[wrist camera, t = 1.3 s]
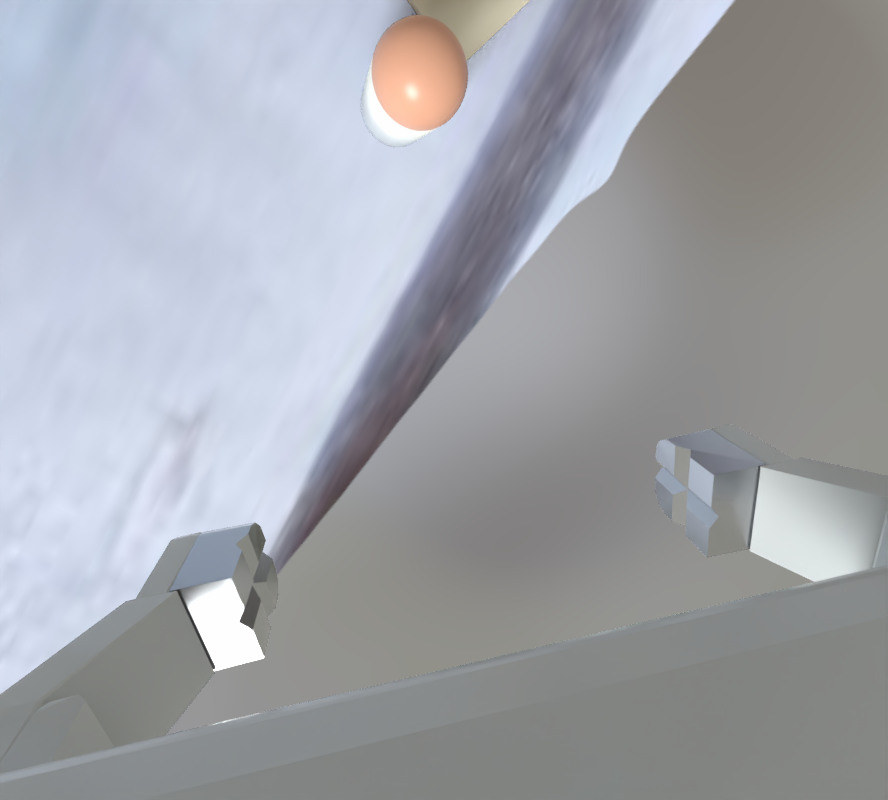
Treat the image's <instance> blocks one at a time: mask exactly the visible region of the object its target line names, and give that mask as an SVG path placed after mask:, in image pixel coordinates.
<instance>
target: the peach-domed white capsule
mask: <svg viewBox="0 0 888 800" xmlns="http://www.w3.org/2000/svg"><path fill="white" fill-rule="evenodd" d="M467 82H468V68H467V61H466V57H465V54H464V51H463V48H462V46H461V44H460V42H459V40H458V39H457V37H456V36H455V34H454V33H453V32H452V31H451V30H450V29H449V28H448V27H447V26H446V25H445V24H443V23H442V22H440V21H439V20H437V19H434V18H432V17H429V16H424V15H412V16H408V17H405V18H402V19H400V20H398V21H397V22H395V23H393V24H392V25H391V26H390V27H389V28H388V29H387V30H386V31H385V32H384V33H383V35H382V37H381V38H380V40H379V42H378V44H377V46H376V48H375V51H374V54H373V58H372V61H371V64H370V68H369V71H368V74H367V78H366V81H365V85H364V88H363V91H362V95H361V114H362V117H363V121H364V123H365V125H366V127H367V129H368V130H369V132H370V133H371V134H372V136H373V137H374V138H376V139H377V140H378V141H379V142H381V143H383V144H385V145H387V146H390V147H405V146H408V145H410V144H412V143H414V142H416V141H417V140H419V139H420V138H422V137H424V136H425V135H427V134H429V133H430V132H432V131H434V130H435V129H437V128H438V127H440V126H442V125H443V124H445V123H446V122H447V121H449V120H450V119H451V118H452V117H453V115H454V114H455V113H456V112H457V110H458V109H459V107H460V105H461V103H462V101H463V99H464V96H465V92H466V88H467Z"/></svg>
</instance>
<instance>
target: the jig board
mask: <svg viewBox="0 0 888 800" xmlns="http://www.w3.org/2000/svg"><path fill="white" fill-rule="evenodd" d="M529 1H530V0H408V2H409V3H410V5H411V6H412V8H413V9H414V11H415V12H416V14H417V15H424V16H429V17H432V18H434V19H437V20H439V21H440V22H442V23H443V24H445V25H446V26H447V27H448V28H449V29H450V30H451V31H452V32H453V33H454V34H455V36H456V37H457V39H458V40H459V42H460V44H461V46H462V48H463V51H464V54H465V57H466V61H467V60H468V59H469V58H470V57H471V56H472V55H473V54H474V53H476V52H477V51H478V50H479V49H480V48H481V47H482V46H483V45H484V44H485V43H486V42H487V41H488V40H489V39H490V38H491V37H492V36H493V35H494V34H495V33H496V32H497V31H499V30H500V29H501V28H502V27H503V26H504V25H505V24H506V23H507V22H508V21H509V20H510V19H511V18H512V17H513V16H514V15H515V14H516V13H517V12H518V11H519V10H520V9H521V8H523V7H524V6H525V5H526V4H527V3H528V2H529Z"/></svg>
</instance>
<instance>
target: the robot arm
mask: <svg viewBox="0 0 888 800" xmlns="http://www.w3.org/2000/svg"><path fill="white" fill-rule="evenodd" d="M656 460H657V461H658V462H659V464H660V465H661V466H662V469H661V470H660V471H659V473H658V474H657V476H656V477H655V492H656V496H657V499H658V502H659V505H660V507H661V509H662V510H663V512H664V514H665V515H666V516H667V517H668V518H669V519H670V520H671V521H672V522H675V523H678V524H680V525H683V526H685V527H686V531H685V535H686V537H687V538H688V539H689V540H690V541H692V543H693V544H694V545H695V546H696V547H697V548H698V549H699V550H700V551H701V552H702V553H703V554H704V555H705V556H706V557H712V556H717V555H722V554H727V553H732V552H737V551H742V550H747V549H750V551H751V552H753V553H755V554H757V555H759V556H761V557H764V558H765V559H768V560H770V561H772V562H774V563H776V564H778V565H780V566H782V567H785V568H787V569H789V570H791V571H793V572H795V573H797V574H799V575H801V576H804V577H806V578H808V579H810V580H812V581H814V582H812V583H808V584H803V585H800V586H795V587H791V588H787V589H782V590H778V591H774V592H770V593H765V594H761V595H757V596H752V597H749V598H744V599H740V600H736V601H732V602H727V603H723V604H718V605H714V606H710V607H706V608H701V609H697V610H693V611H689V612H684V613H680V614H676V615H672V616H667V617H664V618H659V619H655V620H650V621H646V622H642V623H638V624H633V625H629V626H625V627H621V628H617V629H612V630H608V631H604V632H600V633H595V634H591V635H587V636H583V637H579V638H575V639H570V640H566V641H562V642H558V643H553V644H549V645H545V646H541V647H536V648H532V649H528V650H524V651H520V652H515V653H512V654H507V655H503V656H499V657H494V658H490V659H486V660H482V661H477V662H473V663H469V664H465V665H460V666H457V667H452V668H448V669H444V670H440V671H435V672H431V673H427V674H422V675H418V676H414V677H410V678H405V679H401V680H397V681H393V682H388V683H384V684H380V685H376V686H371V687H367V688H363V689H359V690H354V691H350V692H346V693H342V694H338V695H333V696H329V697H325V698H321V699H316V700H312V701H308V702H303V703H299V704H295V705H291V706H287V707H282V708H278V709H274V710H270V711H265V712H261V713H257V714H253V715H249V716H244V717H240V718H236V719H232V720H227V721H223V722H219V723H214V724H210V725H206V726H202V727H197V728H193V729H190V730H185V731H180V732H176V733H172V734H168V735H166V734H167V733H168V731H169V730H170V729H171V728H172V727H173V725H174V724H175V723H176V721H177V720H178V719H179V718H180V717H181V715H182V714H183V713H184V712H185V710H186V709H187V708H188V706H189V705H190V704H191V703H192V701H193V700H194V699H195V698H196V696H197V695H198V694H199V693H200V691H201V690H202V689H203V688H204V686H205V685H206V684H207V683H208V681H209V680H210V679H211V678H212V676H213V675H214V674H215V672H214V671H215V670H219V669H223V668H227V667H230V666H234V665H238V664H242V663H246V662H250V661H254V660H258V659H262V658H264V655H265V651H266V647H267V643H268V638H269V634H270V630H271V626H270V623H269V620H268V618H267V617H268V616H269V615H270V614H271V612H273V610H274V609H275V608H276V603H277V599H278V578H277V573H276V568H275V565H274V562H273V559H272V558H271V557H269V556H268V555H266V554H265V553H263V552H262V551H263V548H264V544H265V541H266V540H265V537H264V535H263V532H262V530H261V527H260V526H259V525H258V524H257V523H250V524H245V525H239V526H234V527H228V528H223V529H217V530H212V531H207V532H203V533H195V534H191V535H186V536H181V537H177V538H175V539H173V540H171V541H170V543H169V544H168V546H167V548H166V549H165V551H164V553H163V554H162V556H161V558H160V559H159V561H158V563H157V564H156V566H155V568H154V569H153V571H152V572H151V574H150V576H149V577H148V579H147V581H146V582H145V584H144V586H143V587H142V589H141V591H140V592H139V594H138V596H137V597H136V599H134V600H130V601H126V602H125V603H123V604H122V605H120V606H119V607H118V608H116V609H115V610H114V611H112V612H111V613H110V614H108V615H107V616H106V617H104V618H103V619H102V620H100V621H99V622H98V623H96V624H95V625H93V626H92V627H91V628H89V629H88V630H87V631H85V632H84V633H83V634H81V635H80V636H79V637H77V638H76V639H75V640H73V641H72V642H71V643H69V644H68V645H67V646H65V647H64V648H62V649H61V650H60V651H58V652H57V653H56V654H54V655H53V656H52V657H50V658H49V659H48V660H46V661H45V662H44V663H42V664H41V665H40V666H38V667H37V668H36V669H34V670H33V671H31V672H30V673H29V674H27V675H26V676H25V677H23V678H22V679H21V680H19V681H18V682H17V683H15V684H14V685H13V686H11V687H10V688H9V689H7V690H6V691H5V692H3V693H2V694H0V800H888V476H887V475H882V474H877V473H872V472H868V471H863V470H858V469H853V468H849V467H843V466H839V465H834V464H830V463H825V462H820V461H815V460H811V459H806V458H797V459H793V458H791V457H789V456H788V455H786V454H784V453H783V452H781V451H779V450H777V449H776V448H774V447H772V446H771V445H769V444H767V443H765V442H763V441H762V440H760V439H758V438H757V437H755V436H753V435H752V434H750V433H748V432H747V431H745V430H743V429H741V428H739V427H738V426H736V425H724V426H720V427H716V428H712V429H707V430H705V431H700V432H696V433H691V434H687V435H683V436H678V437H674V438H669V439H665V440H661V441H659V443H658V445H657V448H656Z"/></svg>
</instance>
